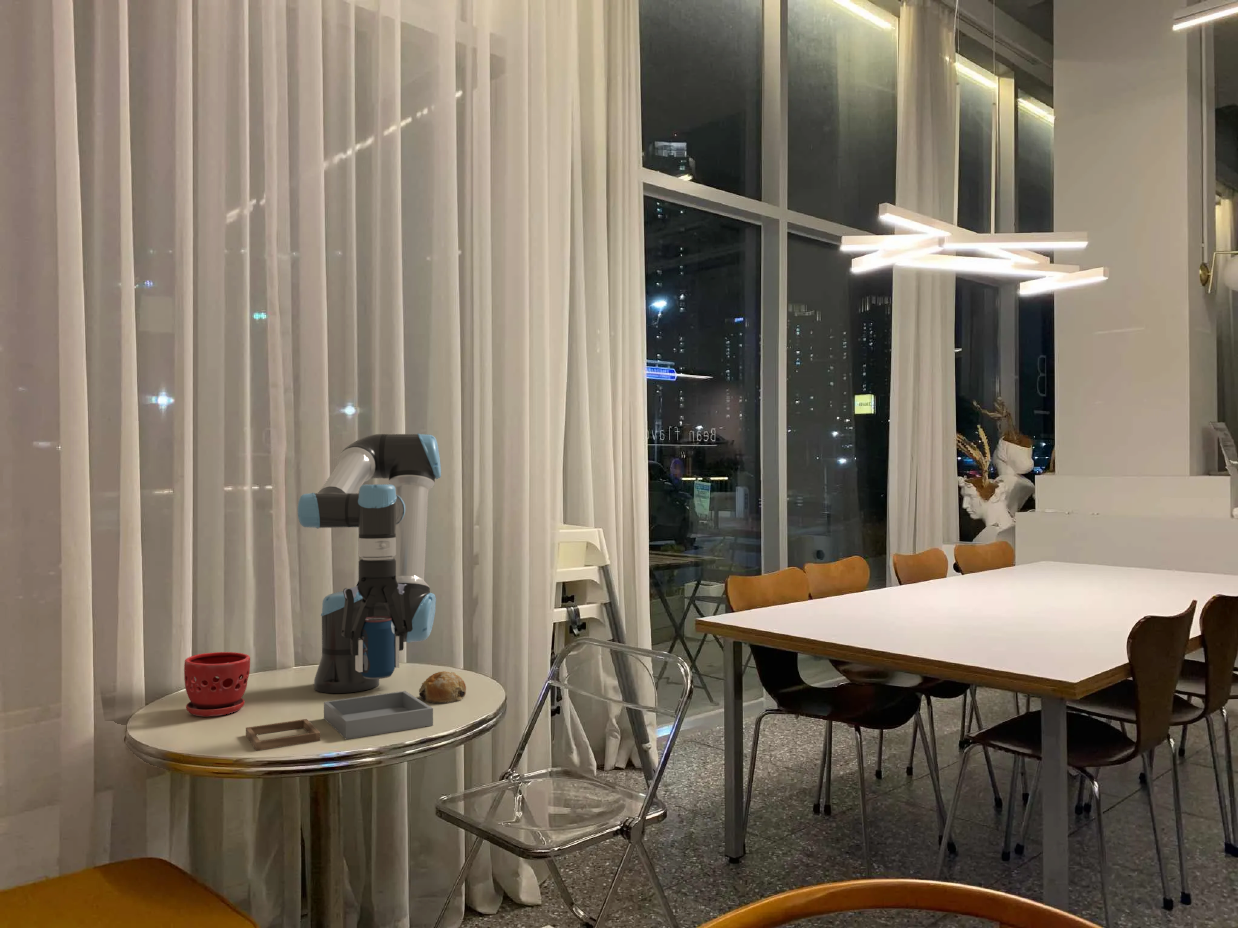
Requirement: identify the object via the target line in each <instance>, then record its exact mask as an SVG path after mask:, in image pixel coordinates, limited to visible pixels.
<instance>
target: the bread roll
mask: <svg viewBox="0 0 1238 928" xmlns="http://www.w3.org/2000/svg"><path fill="white" fill-rule="evenodd" d="M466 693H467V686H466V682H465V681H464V680H463V678H462V677H461V676H460V675H458V674H456V673H455V672H453V671H446V670H445V671H444V670H442V671H438V672H435V673H433V674H432V675H430V676H429V677H427V678H426V680H425V681H423V682H422V683H421V686H420V688H419V689H418V695H419V697H421V699H422V701H423V702H426V701H427V702H426V703H431V702H433V704H439V703H440V704H448V703H447V702H450V703H456V702H461V701H462V700H464V697H465V695H466Z"/></svg>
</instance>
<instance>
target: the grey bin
mask: <svg viewBox="0 0 1238 928" xmlns="http://www.w3.org/2000/svg"><path fill="white" fill-rule="evenodd" d="M323 719H324V720H325V721H326V722H327V723H328V724H329V725H330V726H331V727H332V728H333V729H334V730H335V731H336V732H338V734H340V735H341V736H342V738H344V739H345V740H351V739H356V738H358V739H359V738H362V737H369V736H370V737H371V736H376V735H381V734H387V733H394V732H395V733H396V732H400V731H401V732H402V731H406V730H413V729H418V728H419V729H420V728H425V726H427V727H431V726H432V725H433V726H434V708H433V707H432V706H430V705H428V703H425V701H423V700H421V699H419V698H417V697H416V696H414V695H413V694H411V693H410V692H408V691H406V690H401V691H393V692H386V693H379V694H370V695H365V696H357V697H356V696H355V697H349V698H342V699H335V700H328V701H323Z"/></svg>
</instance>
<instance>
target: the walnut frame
mask: <svg viewBox="0 0 1238 928" xmlns="http://www.w3.org/2000/svg"><path fill="white" fill-rule="evenodd" d="M297 729H298V730H299V729H303V730H305V731H306V733H303V734H296V735H290V736H284V737H283V736H282V737H277V738H269V739H264V740H260V738H259V737H258V735H263V734H270V733H279V732H283V731H291V730H297ZM257 734H258V735H257ZM245 736H246V738H247V739H248V741H249V742H250V744H251V745H252V746H253V748H254V750H255V751H262V750H269V749H276V748H282V747H288V746H295V745H300V744H306V743H312V742H313V743H314V742H319V741H321V732H320V731H319V730H318V729H317V728H316V727H315V725H313V724H312V722H310V721H309V719H307V718H305V719H304V718H303V719H297V720H291V721H283V722H276V723H269V724H260V725H255V726H248V727H245Z"/></svg>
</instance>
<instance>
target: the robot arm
mask: <svg viewBox="0 0 1238 928" xmlns="http://www.w3.org/2000/svg"><path fill="white" fill-rule="evenodd" d="M441 467H442V466H441V459H440V451H439V445H438V440H437V438H436V437H435V436H434V435H432V434H422V433H421V434H420V433H419V432H417V433H396V434H395V433H391V434H390V433H386V434H385V433H376V434H371V435H367V436H364V437H362V438H360V439H357V440H356V441H354V442H352V443H350V444H349V445H348V446H346V447H345V448H344V449H343V450H342V451H341V452H340V454H339V455H338V457H337V459H336V466H335V468H334V470H333V471H332V472H331V474H330V475H329V477H328V478H327V480H326V481H325V482H324V484H323V486H322V487H321V488H320V490H319V491H318V492H317V493H316V492H311V493H303V494H301V495H300V497H299V499H298V503H297V519H298V522H299V525H301V527H304V528H311V529H312V528H314V529H331V528H335V529H336V528H338V529H339V528H358V557H360V558H361V559H360V560H359V561H358V581H357V583H356V585H355V586H352V587H349V588H348V587H345V588H343V590H341V591H336V592H333V593H330V594H328V595H326V596H325V597H324V598H323V599H322V605H321V614H320V616H321V658H320V662H319V664H318V667H317V671H316V673H315V675H314V682H313V683H314V684H313V689H314V690H315V691H317V692H320V693H326V694H346V693H347V694H349V693H357V692H363V691H368V690H370V689H371V690H372V689H375V688H377V687H378V686H379V685H380V679H366V678H364V677H363V675H362V674H361V672H363V640H362V639H360V633H361V631H362V628H363V625H364V622H365V619H366V618H367V617H375V616H388V617H391V618H392V622H393V624H394V626H395V669H398V668H400V652H401V651H404V648H405V647H404V645H405V644H404V643H408V644H410V643H413V642H424V641H425V640H427V639H428V638H429V637H430V635H431V633H432V629H433V626H434V621H435V614H436V604H437V598H436V595H435V593H432V592H431V587H430V585H429V584H428V583H427V582H426V581H425V572H426V571H425V570H426V569H425V567H426V566H425V565H426V550H427V549H426V548H427V546H426V545H427V528H428V527H427V525H428V524H427V523H428V507H429V506H428V502H429V491H430V490H431V489H433V487H435V480H437V479H440V478H441V477H442V468H441ZM371 479H388V484H385V483H384V484H379V483H378V484H364V483H365V482H368V481H369V480H371Z"/></svg>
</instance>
